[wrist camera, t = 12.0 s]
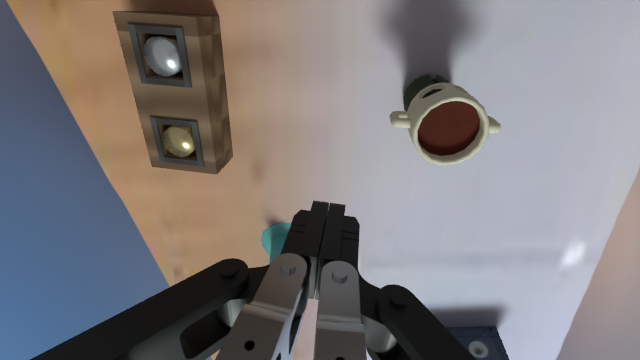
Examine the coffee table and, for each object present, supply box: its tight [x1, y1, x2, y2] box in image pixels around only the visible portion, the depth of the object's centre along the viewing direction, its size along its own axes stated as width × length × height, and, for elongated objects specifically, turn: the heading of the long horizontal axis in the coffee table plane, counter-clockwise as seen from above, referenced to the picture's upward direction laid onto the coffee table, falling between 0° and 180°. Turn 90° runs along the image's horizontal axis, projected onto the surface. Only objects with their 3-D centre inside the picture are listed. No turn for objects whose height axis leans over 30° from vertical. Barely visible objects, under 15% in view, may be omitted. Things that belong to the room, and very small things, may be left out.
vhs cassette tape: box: [446, 326, 509, 360], centre depth 58 cm, size 18×3×10 cm, turn 102°
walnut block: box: [113, 11, 233, 174], centre depth 41 cm, size 20×10×6 cm, turn 177°
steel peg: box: [143, 35, 182, 76], centre depth 38 cm, size 4×4×6 cm
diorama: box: [261, 223, 291, 264], centre depth 52 cm, size 12×20×9 cm, turn 91°
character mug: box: [390, 75, 501, 165], centre depth 34 cm, size 11×7×13 cm, turn 89°
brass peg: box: [162, 125, 195, 157], centre depth 44 cm, size 4×4×6 cm
